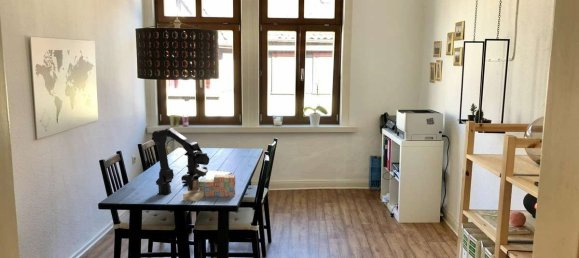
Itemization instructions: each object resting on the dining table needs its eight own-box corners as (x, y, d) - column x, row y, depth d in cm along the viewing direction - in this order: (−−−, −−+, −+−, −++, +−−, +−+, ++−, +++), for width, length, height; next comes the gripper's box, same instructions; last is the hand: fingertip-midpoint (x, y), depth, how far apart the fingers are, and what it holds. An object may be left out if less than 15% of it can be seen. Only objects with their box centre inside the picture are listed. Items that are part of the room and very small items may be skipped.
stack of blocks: (199, 196, 275) (198, 177, 273) (201, 193, 281) (200, 174, 279) (234, 196, 274) (234, 177, 272) (235, 193, 281) (235, 174, 279)
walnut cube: (195, 191, 267) (195, 182, 266) (187, 191, 268) (187, 181, 267) (199, 189, 272) (198, 179, 271) (191, 188, 273) (191, 179, 272)
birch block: (183, 200, 268) (183, 194, 267) (190, 196, 276) (190, 189, 276) (197, 201, 265) (196, 195, 265) (203, 197, 274) (203, 190, 273)
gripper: (198, 167, 257) (199, 194, 259) (211, 160, 275) (212, 185, 277) (180, 166, 259) (181, 192, 262) (194, 159, 277) (195, 184, 280)
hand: (193, 188), depth 270 cm, fingers closed on walnut cube, 5 cm apart
